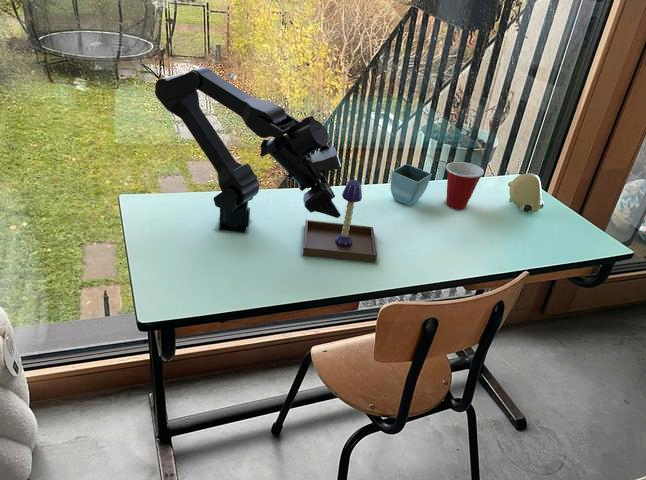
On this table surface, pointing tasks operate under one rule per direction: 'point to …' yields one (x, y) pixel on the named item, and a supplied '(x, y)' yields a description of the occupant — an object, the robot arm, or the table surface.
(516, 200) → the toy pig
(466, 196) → the plastic cup
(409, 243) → the table surface
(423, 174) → the flower pot
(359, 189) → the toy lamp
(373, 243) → the tray
